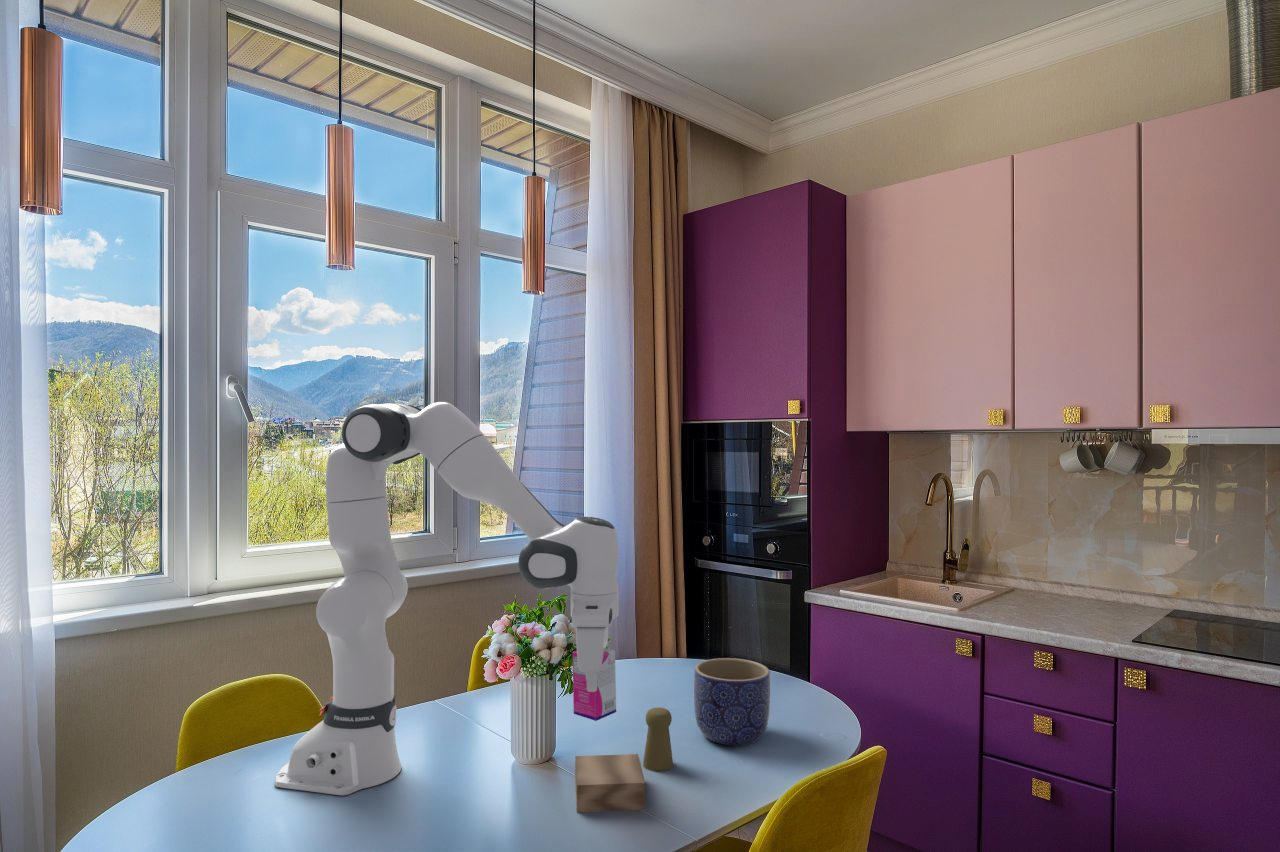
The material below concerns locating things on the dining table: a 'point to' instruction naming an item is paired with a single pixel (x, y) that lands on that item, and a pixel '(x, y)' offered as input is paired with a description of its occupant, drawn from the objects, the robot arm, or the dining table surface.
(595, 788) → the walnut block
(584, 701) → the supplement box
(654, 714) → the olive pawn
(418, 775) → the dining table surface
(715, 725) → the planter
